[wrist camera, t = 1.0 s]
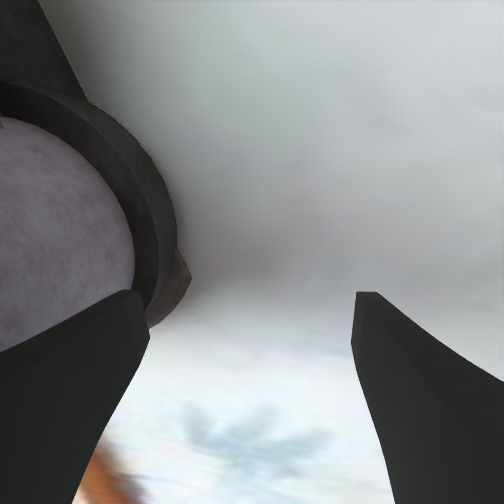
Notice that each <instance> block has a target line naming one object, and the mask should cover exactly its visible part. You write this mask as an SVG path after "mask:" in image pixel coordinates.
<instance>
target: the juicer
mask: <svg viewBox="0 0 504 504" xmlns="http://www.w3.org/2000/svg"><path fill="white" fill-rule="evenodd" d="M191 280H192V277H191V275H190V273H189V271H188V269H187V267H186V265H185V263H184V261H183V258H182V256H181V254H180V252H179V250H178V248H177V225H176V220H175V215H174V210H173V205H172V202H171V199H170V196H169V194H168V191H167V189H166V186H165V183H164V181H163V179H162V177H161V175H160V174H159V172H158V170H157V168H156V167H155V165H154V163H153V162H152V160H151V158H150V157H149V155H148V154H147V153H146V152H145V150H144V149H143V148H142V147H141V145H140V144H139V143H138V142H137V140H136V139H135V138H134V137H133V136H132V135H131V134H130V133H129V132H128V131H127V130H126V129H125V128H124V127H122V126H121V125H120V124H119V123H118V122H117V121H116V120H115V119H114V118H112V117H111V116H109V115H108V114H106V113H105V112H103V111H102V110H100V109H99V108H97V107H96V106H94V105H93V104H91V103H89V102H88V101H87V99H86V97H85V95H84V93H83V91H82V89H81V87H80V85H79V83H78V81H77V79H76V77H75V75H74V73H73V71H72V69H71V67H70V65H69V62H68V60H67V58H66V56H65V54H64V52H63V50H62V48H61V46H60V44H59V42H58V40H57V38H56V36H55V34H54V32H53V30H52V28H51V26H50V24H49V22H48V20H47V18H46V16H45V14H44V12H43V10H42V8H41V6H40V4H39V2H38V0H0V352H2V351H4V350H6V349H9V348H11V347H13V346H15V345H17V344H19V343H21V342H23V341H25V340H28V339H30V338H32V337H33V336H35V335H37V334H39V333H41V332H43V331H45V330H47V329H49V328H51V327H53V326H55V325H57V324H58V323H60V322H62V321H64V320H66V319H68V318H70V317H71V316H73V315H75V314H77V313H79V312H80V311H82V310H84V309H86V308H87V307H89V306H91V305H93V304H95V303H96V302H98V301H100V300H102V299H104V298H106V297H108V296H109V295H111V294H113V293H115V292H118V291H120V290H122V289H134V290H140V294H141V298H142V303H143V307H144V312H145V316H146V321H147V325H148V329H150V328H151V327H153V326H155V325H156V324H158V323H160V322H161V321H162V320H163V319H164V318H165V317H166V316H167V315H169V314H170V313H171V312H172V311H173V310H174V308H175V307H176V306H177V304H178V303H179V302H180V300H181V299H182V298H183V296H184V294H185V292H186V290H187V288H188V286H189V284H190V282H191Z"/></svg>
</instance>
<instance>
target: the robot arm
mask: <svg viewBox="0 0 504 504" xmlns="http://www.w3.org/2000/svg"><path fill="white" fill-rule="evenodd" d="M149 340H150V334H149V330H148V325H147V321H146V316H145V312H144V307H143V303H142V298H141V294H140V290H134V289H122V290H120V291H118V292H115V293H113V294H111V295H109V296H108V297H106V298H104V299H102V300H100V301H98V302H96V303H95V304H93V305H91V306H89V307H87V308H86V309H84V310H82V311H80V312H79V313H77V314H75V315H73V316H71V317H70V318H68V319H66V320H64V321H62V322H60V323H58V324H57V325H55V326H53V327H51V328H49V329H47V330H45V331H43V332H41V333H39V334H37V335H35V336H33V337H32V338H30V339H28V340H25V341H23V342H21V343H19V344H17V345H15V346H13V347H11V348H9V349H6V350H4V351H2V352H0V504H72V502H73V499H74V497H75V494H76V492H77V489H78V487H79V484H80V482H81V480H82V477H83V475H84V472H85V470H86V468H87V466H88V463H89V461H90V459H91V456H92V454H93V452H94V450H95V447H96V445H97V443H98V441H99V439H100V437H101V435H102V433H103V431H104V429H105V427H106V425H107V423H108V422H109V420H110V418H111V416H112V414H113V413H114V411H115V409H116V407H117V405H118V404H119V402H120V400H121V398H122V396H123V395H124V393H125V391H126V389H127V387H128V386H129V384H130V382H131V380H132V378H133V376H134V375H135V373H136V371H137V369H138V367H139V365H140V363H141V361H142V358H143V356H144V353H145V351H146V348H147V345H148V342H149ZM351 346H352V351H353V357H354V362H355V366H356V371H357V375H358V378H359V381H360V384H361V387H362V390H363V393H364V396H365V399H366V402H367V405H368V408H369V411H370V414H371V417H372V420H373V423H374V426H375V429H376V432H377V435H378V438H379V441H380V444H381V448H382V451H383V455H384V458H385V462H386V466H387V471H388V475H389V479H390V484H391V488H392V492H393V496H394V501H395V504H504V382H503V381H501V380H499V379H498V378H496V377H494V376H493V375H491V374H489V373H488V372H486V371H484V370H483V369H481V368H479V367H478V366H476V365H474V364H473V363H471V362H470V361H468V360H466V359H465V358H463V357H462V356H460V355H459V354H457V353H456V352H454V351H453V350H452V349H450V348H449V347H447V346H446V345H444V344H443V343H442V342H440V341H439V340H437V339H436V338H435V337H433V336H432V335H430V334H429V333H428V332H426V331H425V330H424V329H422V328H421V327H420V326H419V325H417V324H416V323H415V322H413V321H412V320H411V319H410V318H408V317H407V316H406V315H405V314H403V313H402V312H401V311H400V310H399V309H397V308H396V307H395V306H394V305H392V304H391V303H390V302H389V301H388V300H386V299H385V298H384V297H383V296H381V295H380V294H379V293H377V292H356V301H355V310H354V319H353V328H352V338H351Z"/></svg>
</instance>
